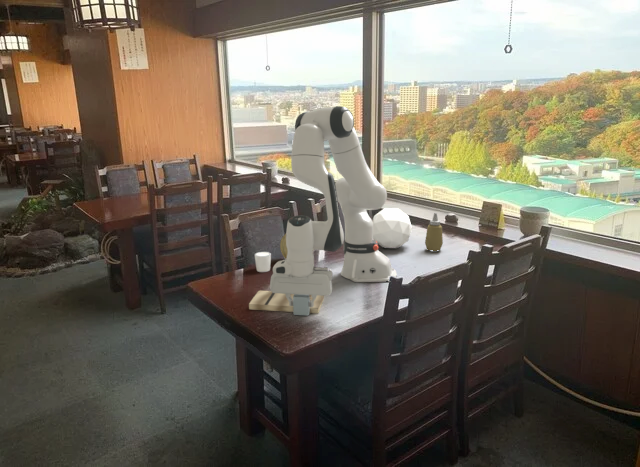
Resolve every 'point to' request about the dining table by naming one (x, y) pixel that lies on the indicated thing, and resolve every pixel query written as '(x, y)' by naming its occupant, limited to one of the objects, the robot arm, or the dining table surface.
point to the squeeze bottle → (434, 234)
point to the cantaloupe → (284, 247)
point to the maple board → (279, 302)
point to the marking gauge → (301, 304)
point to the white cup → (263, 261)
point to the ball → (391, 228)
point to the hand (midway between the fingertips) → (301, 305)
